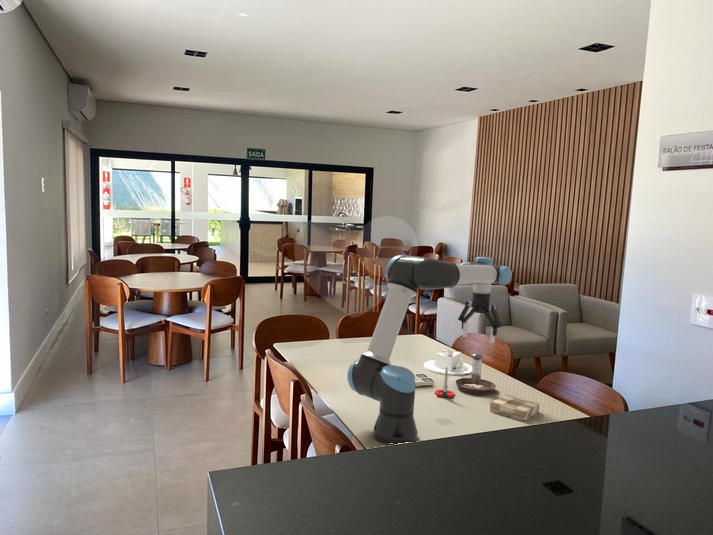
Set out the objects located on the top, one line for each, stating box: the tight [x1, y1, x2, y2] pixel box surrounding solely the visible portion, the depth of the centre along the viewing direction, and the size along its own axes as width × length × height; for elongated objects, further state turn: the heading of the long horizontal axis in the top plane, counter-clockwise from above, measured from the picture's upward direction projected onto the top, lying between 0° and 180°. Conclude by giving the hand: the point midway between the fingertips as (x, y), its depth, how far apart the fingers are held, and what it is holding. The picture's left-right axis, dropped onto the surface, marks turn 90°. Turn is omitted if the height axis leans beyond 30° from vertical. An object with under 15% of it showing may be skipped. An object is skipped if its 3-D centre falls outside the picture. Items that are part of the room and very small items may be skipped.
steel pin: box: [470, 352, 484, 385], centre depth 238 cm, size 5×5×13 cm
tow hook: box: [434, 367, 456, 399], centre depth 230 cm, size 8×13×9 cm
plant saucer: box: [454, 377, 497, 395], centre depth 239 cm, size 18×18×3 cm
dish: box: [423, 345, 472, 376], centre depth 270 cm, size 25×25×11 cm
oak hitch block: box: [489, 394, 540, 421], centre depth 213 cm, size 14×14×4 cm
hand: (478, 339), depth 237 cm, fingers open, 13 cm apart
